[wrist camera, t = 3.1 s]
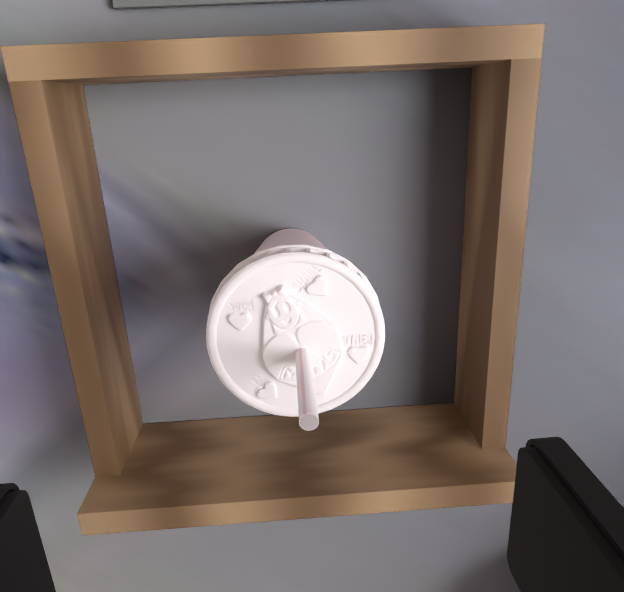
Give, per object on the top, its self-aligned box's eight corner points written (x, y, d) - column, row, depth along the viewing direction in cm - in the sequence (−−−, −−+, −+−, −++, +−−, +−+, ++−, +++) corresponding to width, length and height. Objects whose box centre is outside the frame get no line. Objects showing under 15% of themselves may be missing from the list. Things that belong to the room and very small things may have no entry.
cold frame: (499, 38, 24) (579, 12, 18) (473, 418, 31) (524, 501, 25) (50, 57, 24) (-38, 37, 17) (124, 443, 31) (82, 535, 24)
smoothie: (261, 338, 29) (245, 531, 16) (207, 232, 27) (135, 354, 14) (370, 291, 28) (448, 452, 15) (323, 180, 26) (366, 254, 13)
